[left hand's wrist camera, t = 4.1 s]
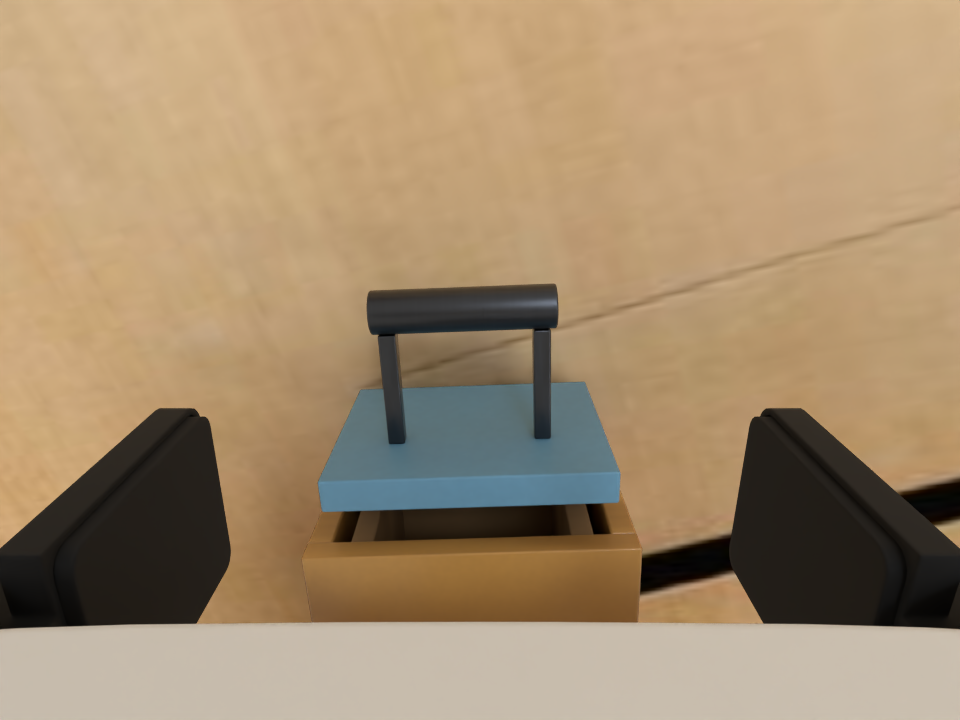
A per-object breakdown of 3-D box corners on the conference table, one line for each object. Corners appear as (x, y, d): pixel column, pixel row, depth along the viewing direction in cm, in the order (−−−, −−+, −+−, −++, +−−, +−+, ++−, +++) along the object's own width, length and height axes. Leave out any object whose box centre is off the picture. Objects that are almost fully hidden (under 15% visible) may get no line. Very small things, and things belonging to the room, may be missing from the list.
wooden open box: (356, 426, 30) (300, 558, 21) (594, 418, 30) (643, 548, 21) (389, 701, 36) (357, 896, 27) (587, 696, 36) (622, 891, 27)
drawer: (345, 262, 26) (291, 316, 19) (587, 253, 26) (628, 303, 19) (392, 667, 34) (367, 817, 26) (579, 662, 33) (606, 812, 26)
